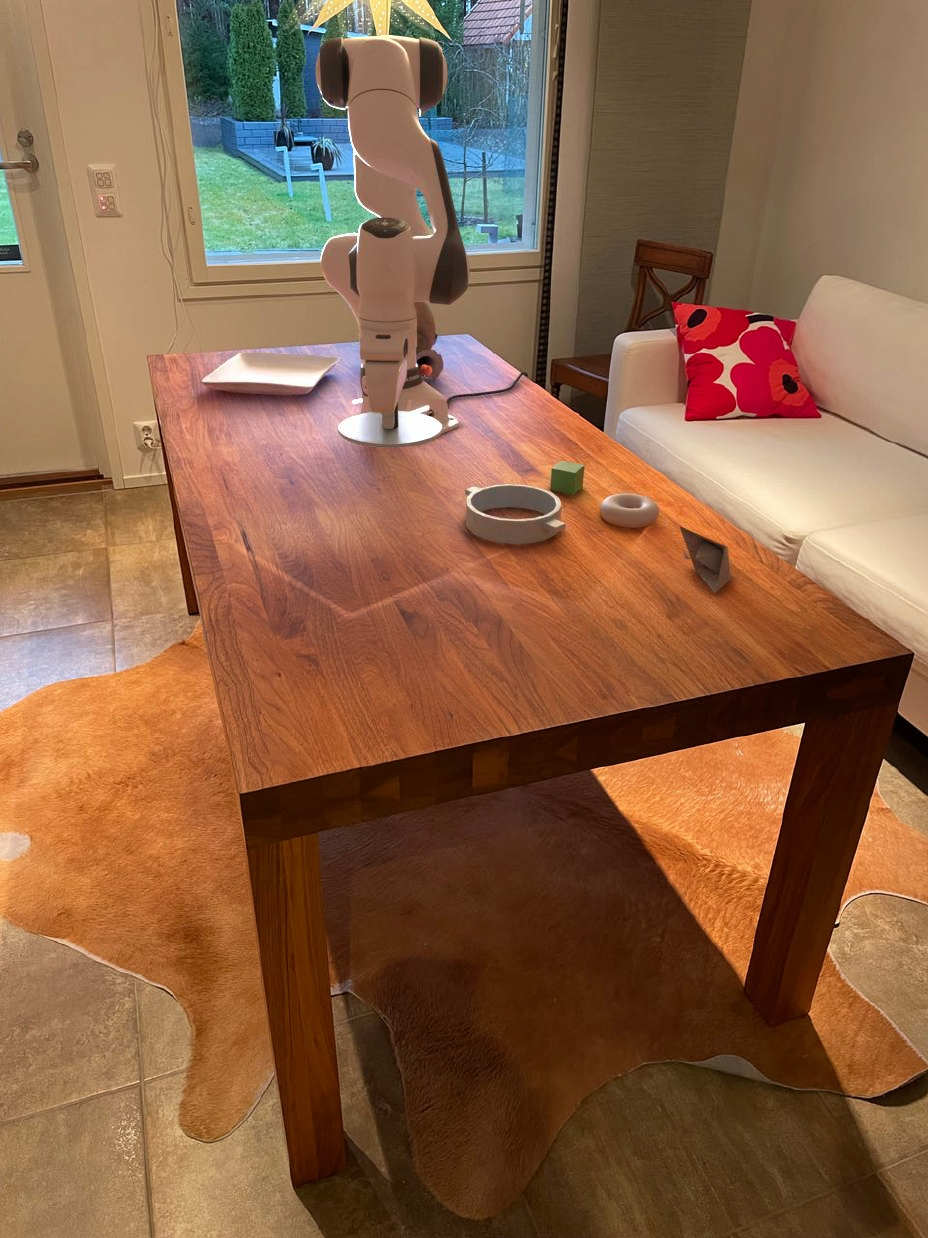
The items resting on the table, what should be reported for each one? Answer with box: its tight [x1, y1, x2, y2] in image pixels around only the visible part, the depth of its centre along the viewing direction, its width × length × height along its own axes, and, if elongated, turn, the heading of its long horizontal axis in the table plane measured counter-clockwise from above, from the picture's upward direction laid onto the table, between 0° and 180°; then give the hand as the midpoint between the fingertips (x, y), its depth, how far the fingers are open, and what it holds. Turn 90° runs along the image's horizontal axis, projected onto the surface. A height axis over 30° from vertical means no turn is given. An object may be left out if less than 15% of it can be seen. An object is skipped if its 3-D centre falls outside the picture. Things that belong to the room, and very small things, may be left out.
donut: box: [599, 492, 660, 529], centre depth 156 cm, size 10×4×10 cm
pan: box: [464, 483, 567, 545], centre depth 153 cm, size 16×21×4 cm
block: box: [549, 460, 585, 496], centre depth 167 cm, size 5×5×5 cm
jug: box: [414, 302, 445, 381], centre depth 235 cm, size 20×20×30 cm
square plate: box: [200, 352, 341, 396], centre depth 225 cm, size 27×27×4 cm
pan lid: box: [337, 402, 442, 449], centre depth 147 cm, size 17×17×5 cm
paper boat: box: [679, 525, 732, 594], centre depth 138 cm, size 12×6×9 cm
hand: (390, 423), depth 147 cm, fingers closed on pan lid, 2 cm apart
